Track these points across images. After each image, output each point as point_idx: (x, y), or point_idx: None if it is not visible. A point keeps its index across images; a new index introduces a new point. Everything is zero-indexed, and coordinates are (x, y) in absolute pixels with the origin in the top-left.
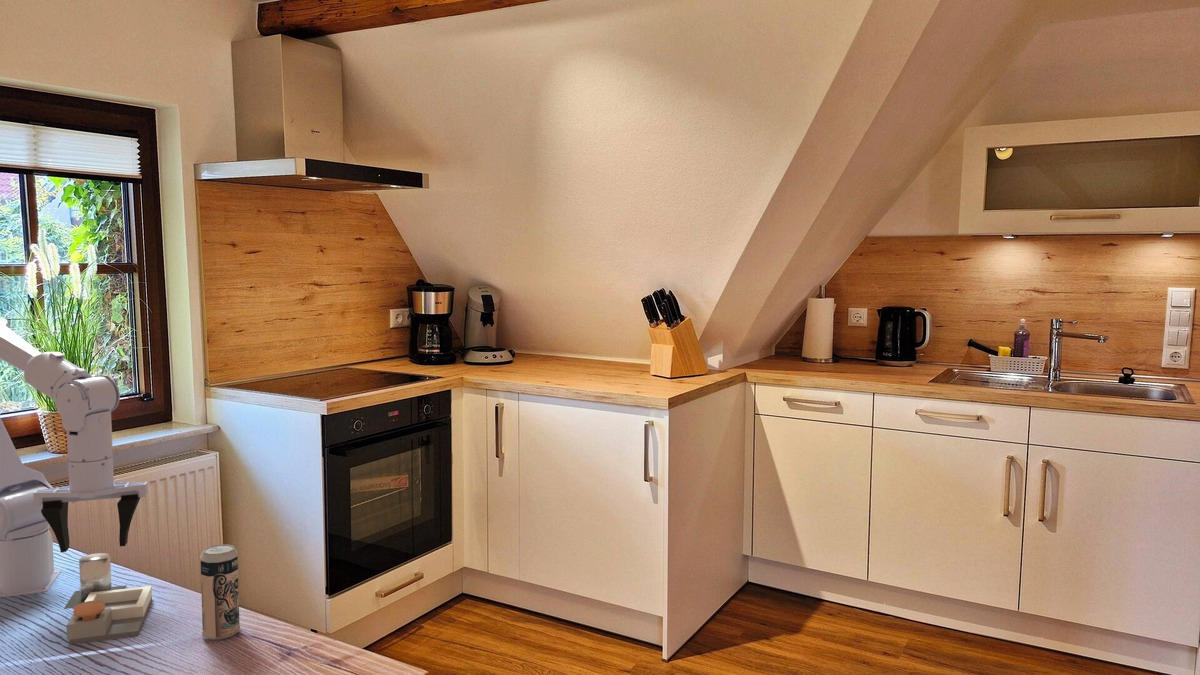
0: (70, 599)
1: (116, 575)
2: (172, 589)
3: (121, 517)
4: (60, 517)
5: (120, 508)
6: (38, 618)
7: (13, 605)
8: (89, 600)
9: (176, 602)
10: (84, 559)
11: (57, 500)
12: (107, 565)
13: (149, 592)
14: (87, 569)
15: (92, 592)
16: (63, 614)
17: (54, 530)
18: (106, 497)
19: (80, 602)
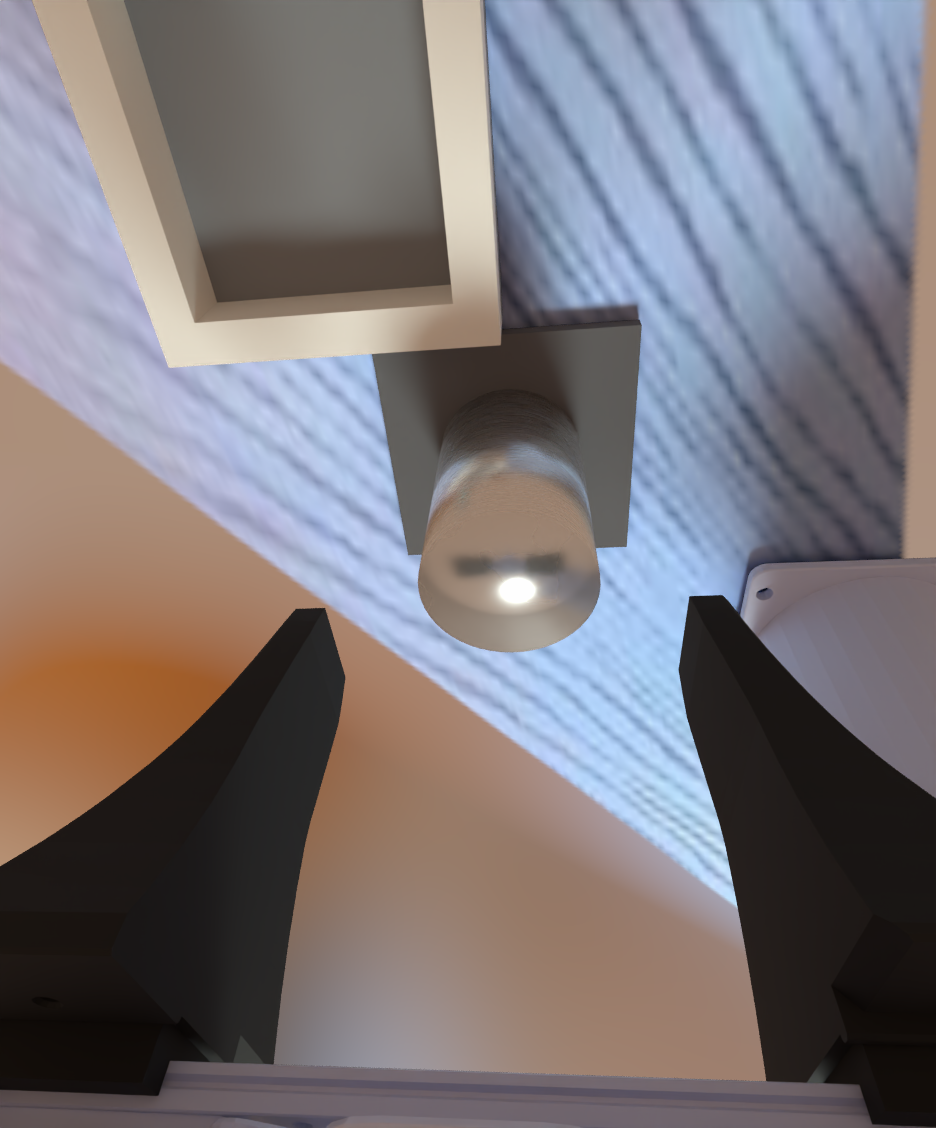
0: (628, 446)
1: (498, 679)
2: (186, 479)
3: (196, 789)
4: (822, 837)
5: (124, 878)
6: (761, 241)
7: (888, 469)
8: (462, 182)
9: (67, 291)
10: (566, 571)
11: (922, 1126)
12: (427, 528)
13: (140, 273)
14: (533, 485)
15: (486, 344)
16: (633, 269)
17: (833, 725)
18: (334, 1088)
19: (570, 390)
